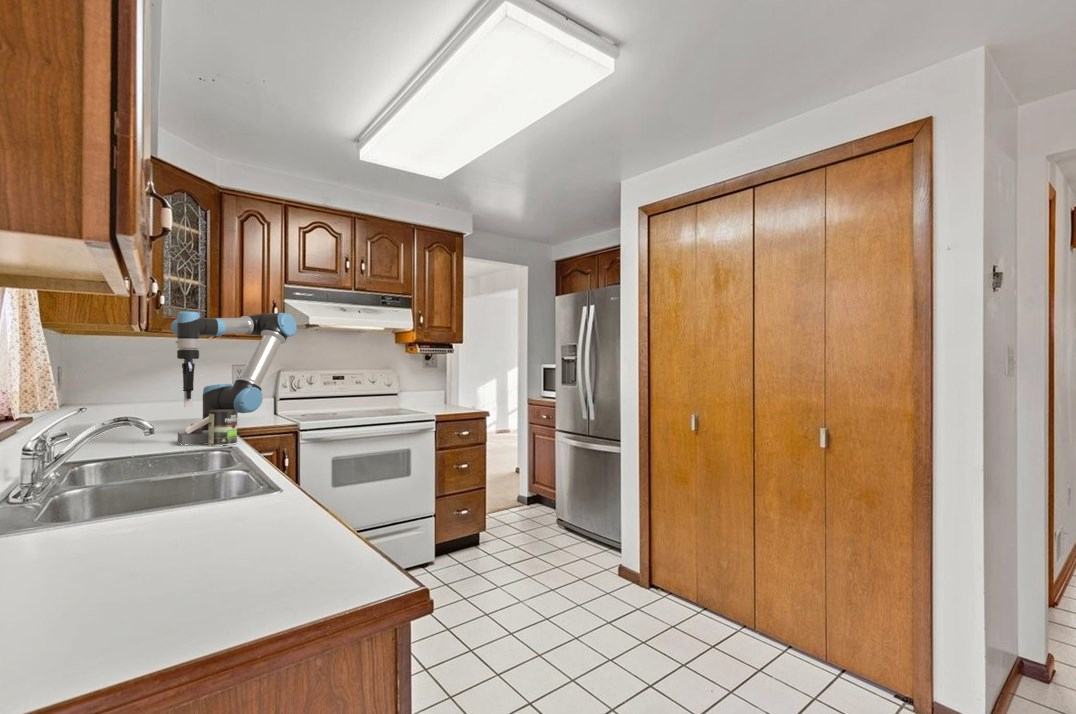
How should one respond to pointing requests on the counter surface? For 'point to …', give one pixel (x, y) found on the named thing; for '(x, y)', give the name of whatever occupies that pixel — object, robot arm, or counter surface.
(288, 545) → the counter surface
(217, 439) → the coffee can
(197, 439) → the box
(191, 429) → the bar
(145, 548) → the counter surface
